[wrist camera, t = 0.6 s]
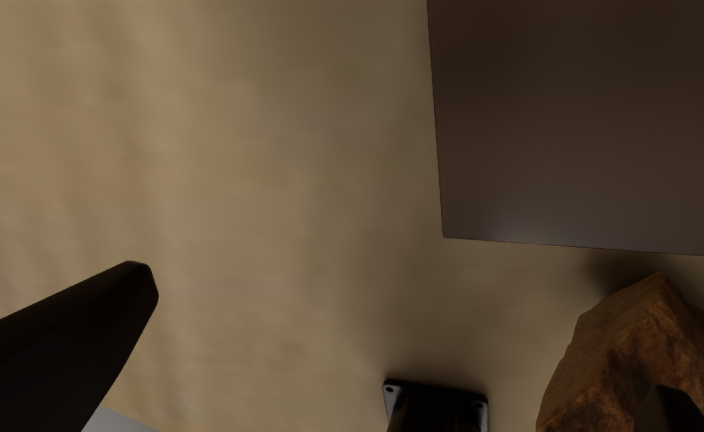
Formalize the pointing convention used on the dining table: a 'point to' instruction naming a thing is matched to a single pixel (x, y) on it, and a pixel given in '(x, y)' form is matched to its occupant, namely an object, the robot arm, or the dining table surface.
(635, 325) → the decorative rock
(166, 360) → the dining table surface
